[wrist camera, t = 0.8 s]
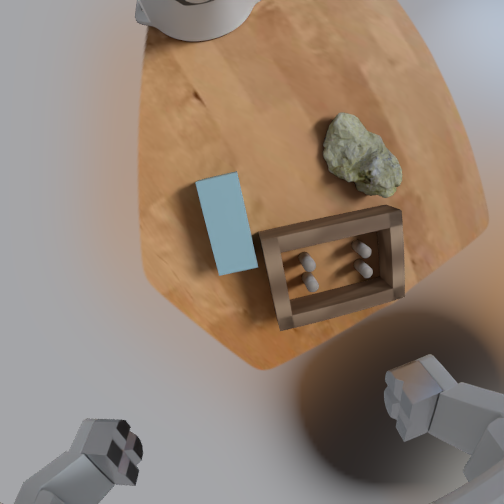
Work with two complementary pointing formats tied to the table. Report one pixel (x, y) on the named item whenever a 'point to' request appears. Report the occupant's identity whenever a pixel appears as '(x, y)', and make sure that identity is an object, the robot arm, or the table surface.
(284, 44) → the table surface
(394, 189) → the rock
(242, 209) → the light blue rectangular block
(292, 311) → the frame
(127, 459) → the robot arm
